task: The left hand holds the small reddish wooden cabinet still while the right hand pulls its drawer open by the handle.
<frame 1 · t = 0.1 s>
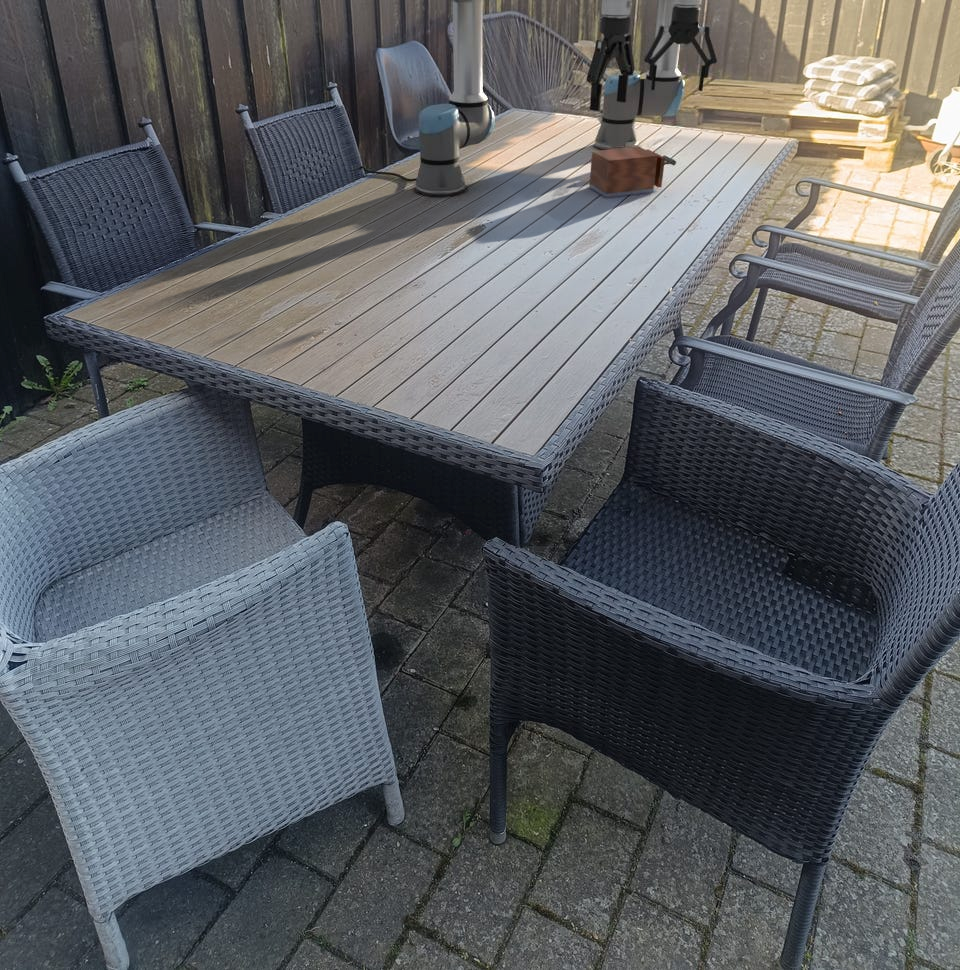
left hand: (608, 106, 226), 28 cm above the table, tool pointing down, fingers open, 13 cm apart
right hand: (676, 89, 244), 28 cm above the table, tool pointing down, fingers open, 13 cm apart
drawer: (641, 169, 257), point 5 cm above the table, slide at 1.9 cm
cabinet: (621, 189, 259), on the table
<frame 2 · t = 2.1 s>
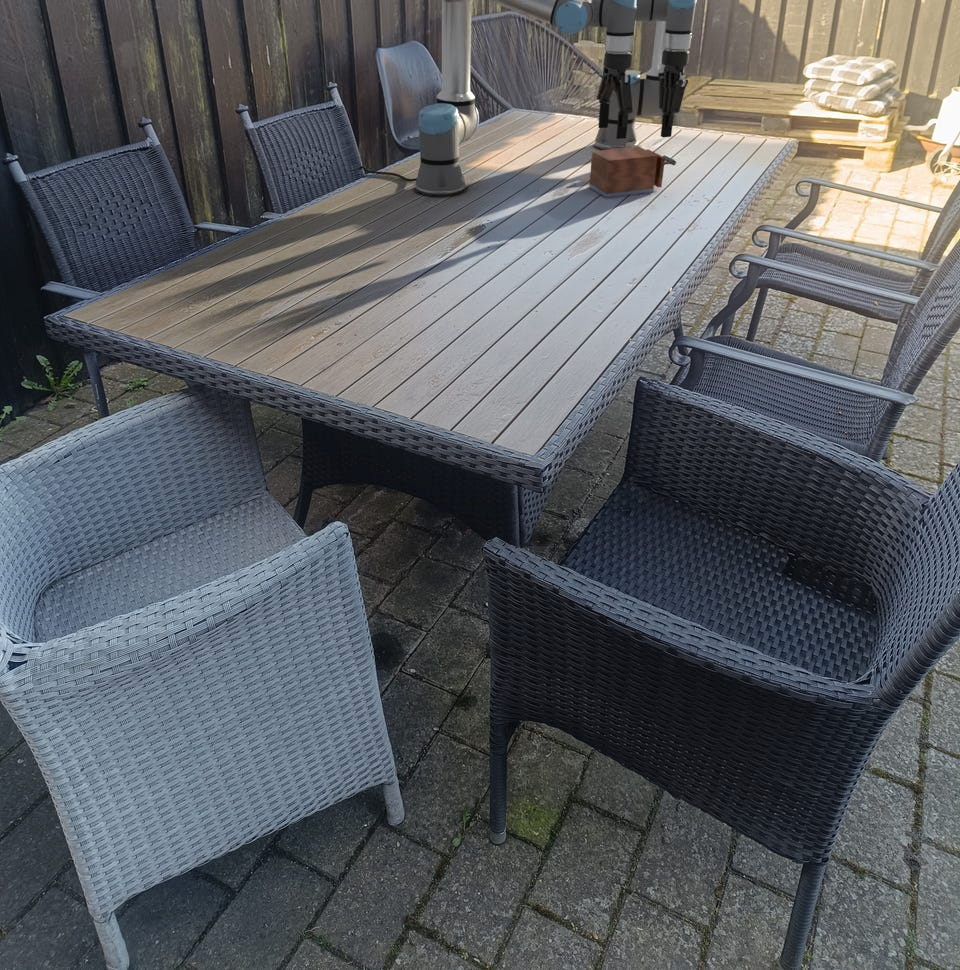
left hand: (611, 133, 246), 17 cm above the table, tool pointing down, fingers open, 13 cm apart
right hand: (665, 136, 254), 14 cm above the table, tool pointing down, fingers closed
nothing on the table moved.
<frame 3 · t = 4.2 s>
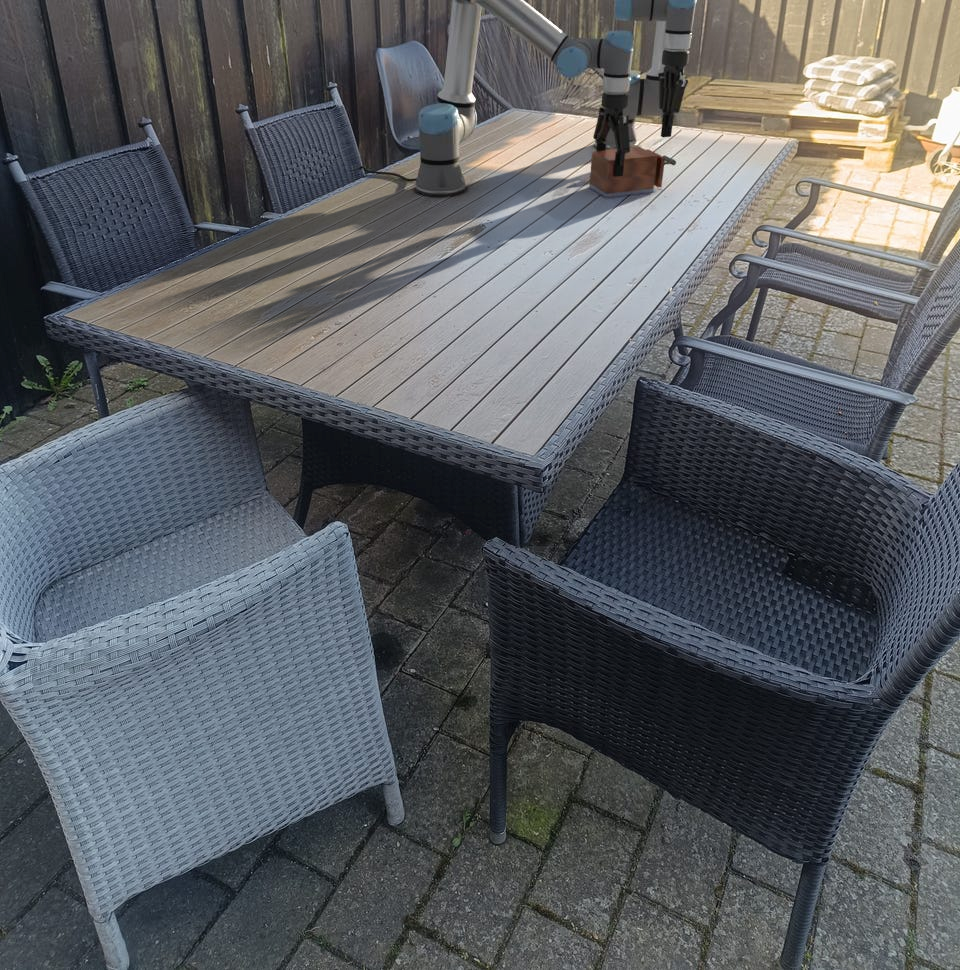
left hand: (608, 170, 254), 6 cm above the table, tool pointing down, fingers closed on cabinet, 11 cm apart
right hand: (665, 136, 254), 14 cm above the table, tool pointing down, fingers closed
cabinet: (621, 189, 259), on the table, touching left hand
everything else where it was.
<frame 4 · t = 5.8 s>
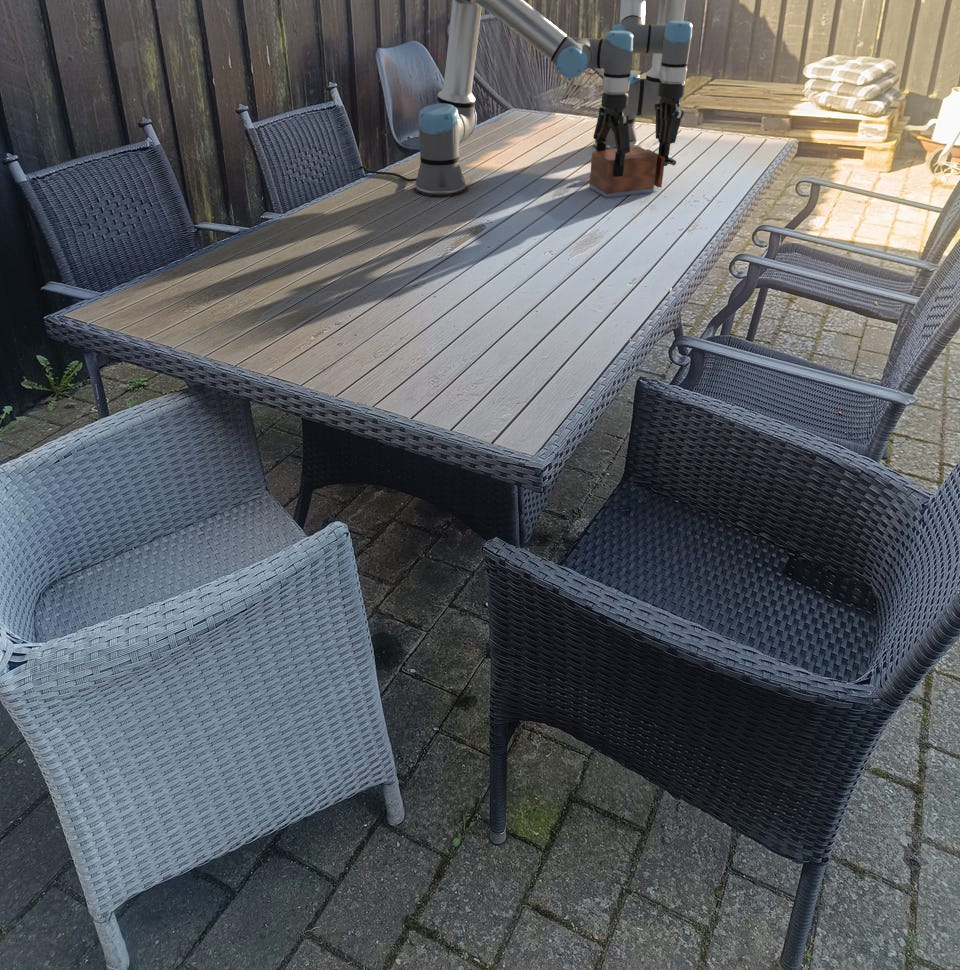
left hand: (608, 170, 254), 6 cm above the table, tool pointing down, fingers closed on cabinet, 11 cm apart
right hand: (662, 165, 259), 6 cm above the table, tool pointing down, fingers closed
drawer: (641, 169, 257), point 5 cm above the table, slide at 1.9 cm, touching right hand
cabinet: (621, 189, 259), on the table, touching left hand
everything else where it was.
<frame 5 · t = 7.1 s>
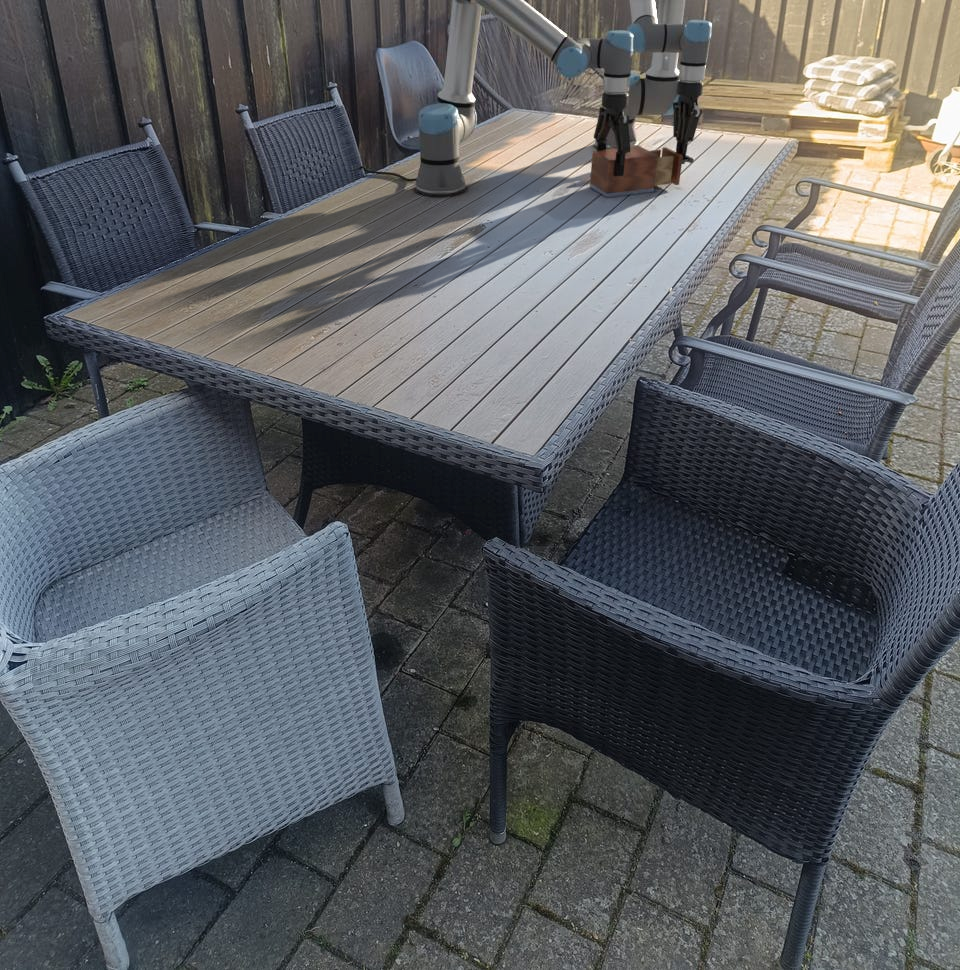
left hand: (609, 170, 254), 6 cm above the table, tool pointing down, fingers closed on cabinet, 11 cm apart
right hand: (679, 163, 261), 6 cm above the table, tool pointing down, fingers closed
drawer: (659, 167, 259), point 5 cm above the table, slide at 7.9 cm, touching right hand
cabinet: (621, 189, 259), on the table, touching left hand
everything else where it was.
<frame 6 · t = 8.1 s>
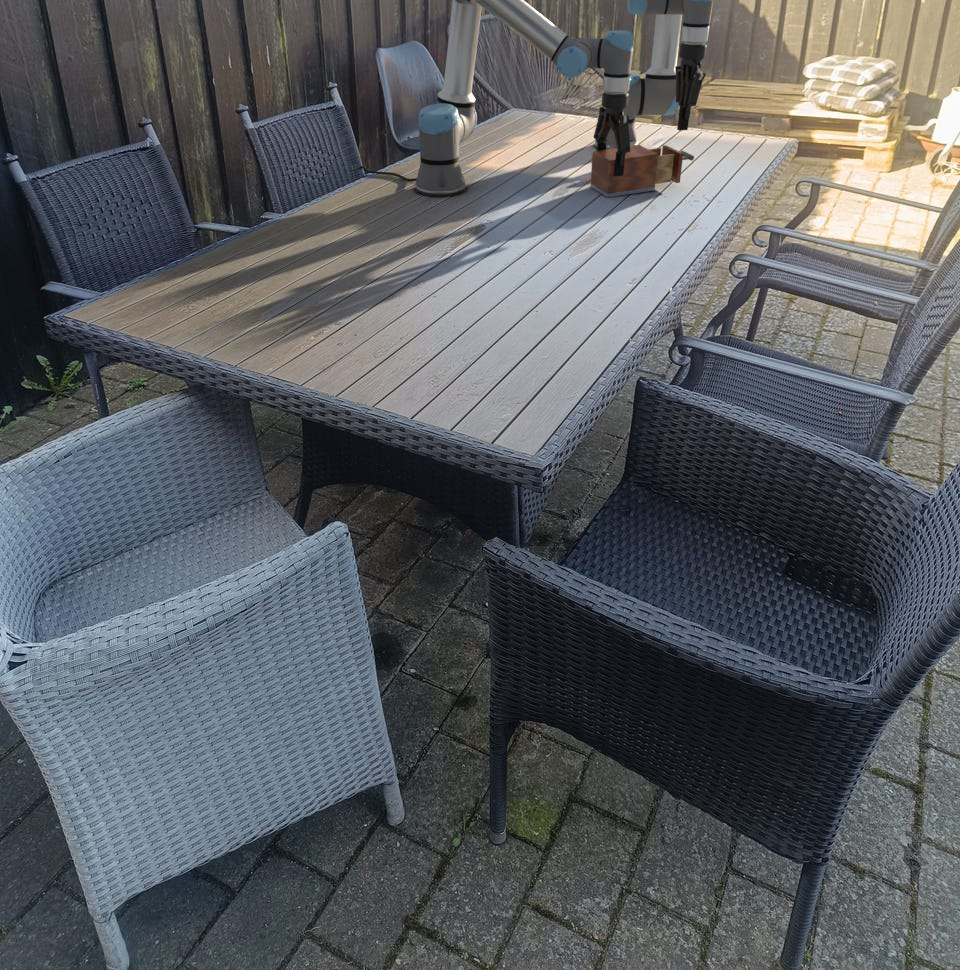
left hand: (609, 170, 254), 6 cm above the table, tool pointing down, fingers closed on cabinet, 11 cm apart
right hand: (682, 129, 255), 16 cm above the table, tool pointing down, fingers closed
drawer: (659, 165, 259), point 6 cm above the table, slide at 7.9 cm
cabinet: (622, 188, 259), on the table, touching left hand
everything else where it was.
when the left hand's fingers open (6 cm above the table, at t = 9.0 s): cabinet stays where it is, on the table.
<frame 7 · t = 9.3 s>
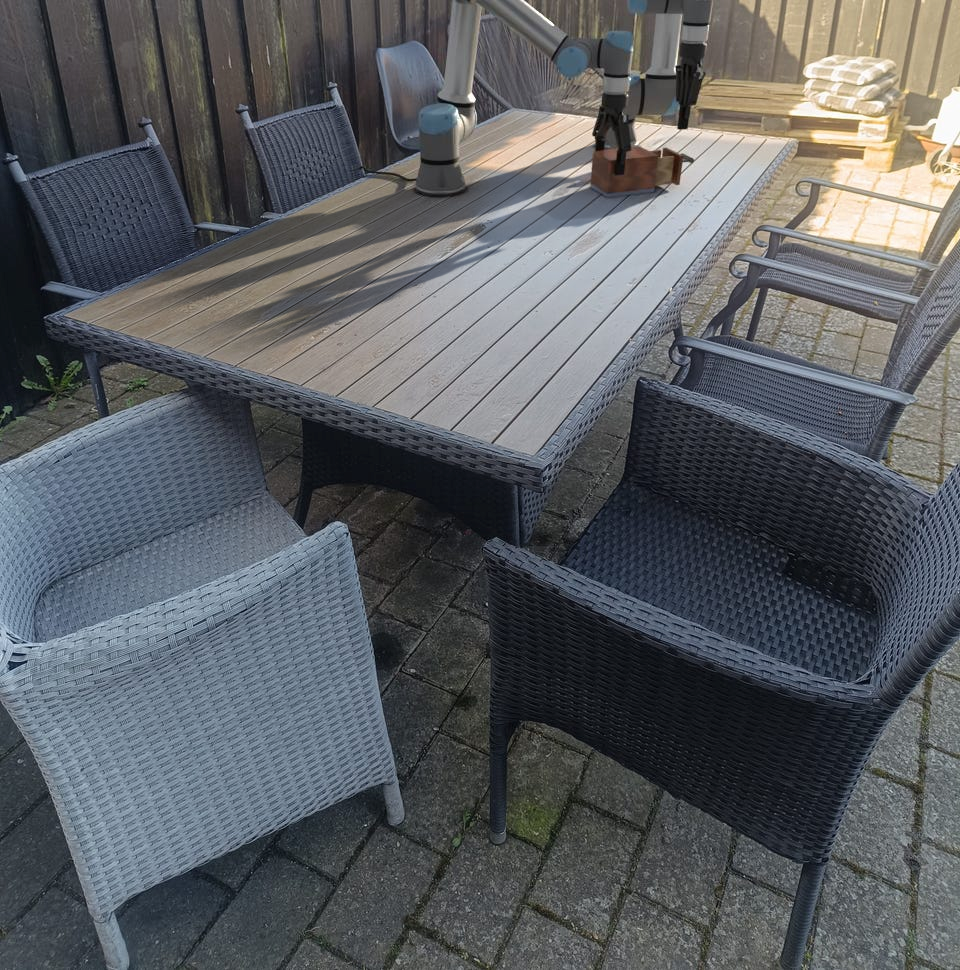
left hand: (608, 168, 254), 7 cm above the table, tool pointing down, fingers open, 13 cm apart
right hand: (682, 128, 255), 16 cm above the table, tool pointing down, fingers closed
cabinet: (622, 189, 259), on the table
everything else where it was.
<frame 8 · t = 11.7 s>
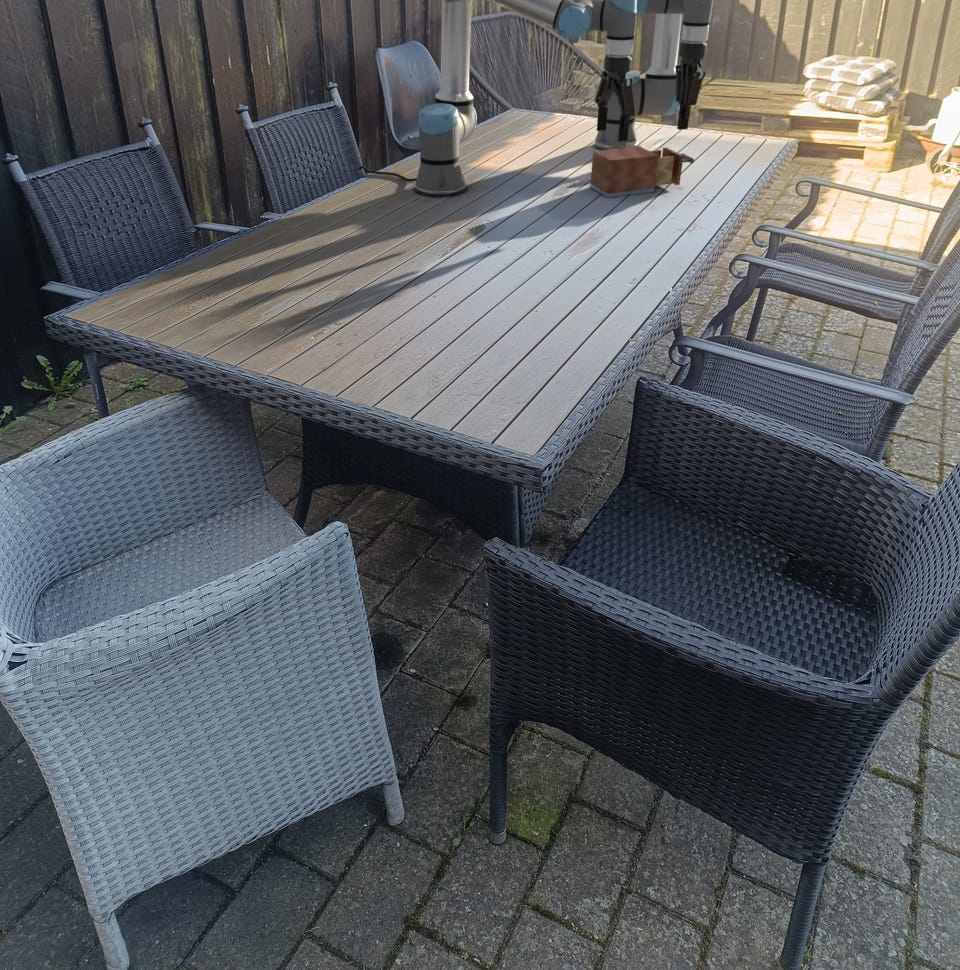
left hand: (611, 135, 248), 16 cm above the table, tool pointing down, fingers open, 13 cm apart
right hand: (682, 128, 255), 16 cm above the table, tool pointing down, fingers closed
nothing on the table moved.
at the end: drawer slide at 7.9 cm; cabinet tilted 0°; cabinet never tilted more than 2° during the clip; cabinet moved 0.4 cm from its start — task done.
